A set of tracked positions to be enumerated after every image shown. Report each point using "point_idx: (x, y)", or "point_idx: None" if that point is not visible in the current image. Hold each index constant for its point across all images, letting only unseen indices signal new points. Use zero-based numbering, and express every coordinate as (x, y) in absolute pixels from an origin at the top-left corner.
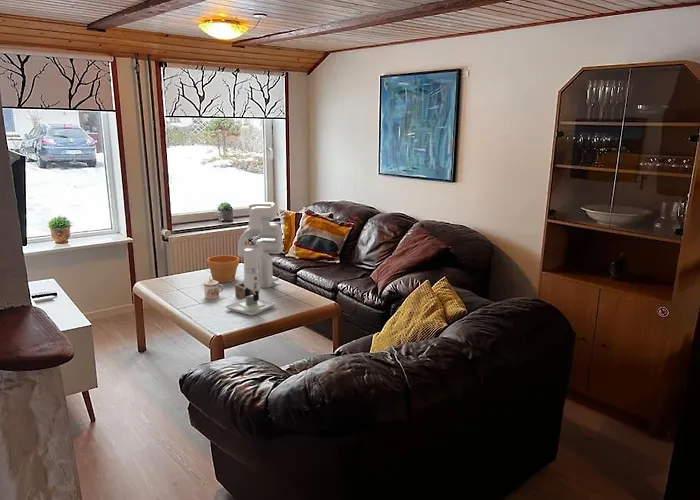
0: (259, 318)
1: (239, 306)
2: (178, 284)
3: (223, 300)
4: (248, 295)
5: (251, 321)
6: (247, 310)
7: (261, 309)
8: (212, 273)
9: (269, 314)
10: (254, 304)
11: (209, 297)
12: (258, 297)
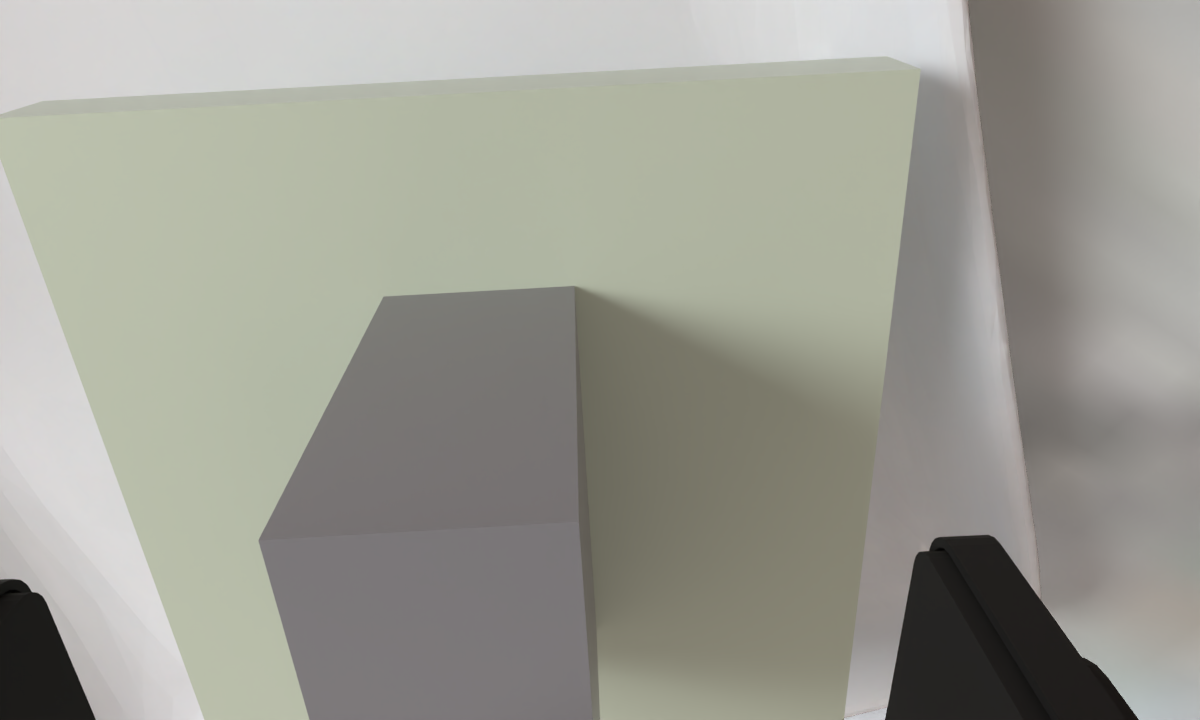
0: (1167, 469)
1: (48, 520)
2: None
3: None
4: (49, 686)
5: (1149, 667)
6: None
7: (1005, 321)
8: None
9: (1183, 92)
10: (612, 430)
11: None
12: (1057, 659)
